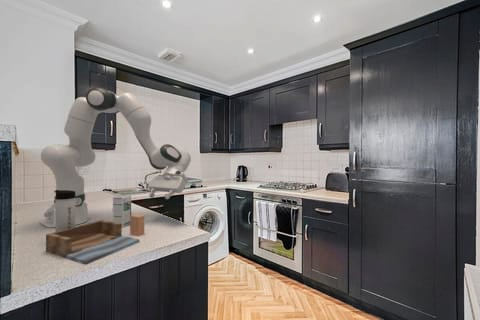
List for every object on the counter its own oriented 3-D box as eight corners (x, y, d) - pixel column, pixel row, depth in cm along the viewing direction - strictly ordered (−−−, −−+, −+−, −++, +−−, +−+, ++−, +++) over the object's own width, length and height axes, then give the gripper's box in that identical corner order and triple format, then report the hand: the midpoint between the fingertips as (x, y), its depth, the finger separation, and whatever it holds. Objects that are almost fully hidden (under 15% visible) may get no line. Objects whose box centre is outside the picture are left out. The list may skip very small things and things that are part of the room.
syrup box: (123, 227, 103) (123, 196, 103) (112, 226, 105) (112, 196, 104) (131, 224, 109) (131, 194, 109) (121, 223, 110) (121, 194, 110)
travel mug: (57, 238, 88) (57, 189, 88) (77, 236, 91) (77, 188, 91) (51, 244, 83) (51, 191, 83) (72, 241, 85) (72, 190, 85)
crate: (45, 251, 76) (45, 234, 76) (102, 233, 95) (102, 219, 95) (85, 264, 67) (85, 244, 67) (139, 241, 86) (139, 226, 86)
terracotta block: (130, 234, 94) (130, 215, 94) (135, 232, 97) (136, 214, 97) (138, 236, 92) (138, 217, 92) (144, 234, 95) (144, 215, 95)
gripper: (154, 171, 117) (138, 192, 108) (185, 172, 108) (171, 195, 99) (160, 178, 121) (146, 199, 112) (190, 180, 112) (178, 203, 104)
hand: (158, 197), depth 106 cm, fingers open, 8 cm apart
